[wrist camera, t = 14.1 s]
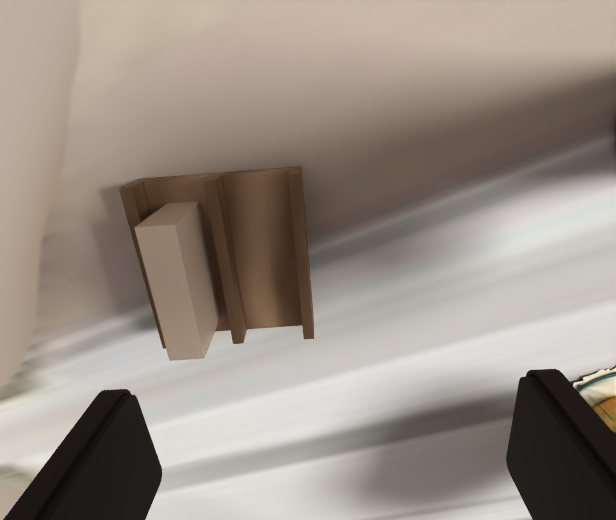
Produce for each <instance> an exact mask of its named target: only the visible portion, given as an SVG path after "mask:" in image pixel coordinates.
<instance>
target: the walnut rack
mask: <svg viewBox="0 0 616 520" xmlns="http://www.w3.org/2000/svg"><path fill="white" fill-rule="evenodd" d="M119 190H120V193H121V197H122V201H123V204H124V208H125V212H126V215H127V219H128V222H129V226H130V230H131V233H132V237H133V241H134V244H135V248H136V252H137V255H138V259H139V263H140V266H141V270H142V273H143V277H144V281H145V284H146V288H147V292H148V295H149V299H150V303H151V306H152V310H153V313H154V317H155V321H156V324H157V328H158V332H159V335H160V339H161V343H162V346H163V349H164V348H166V345H165V341H164V338H163V334H162V330H161V326H160V322H159V319H158V315H157V311H156V307H155V304H154V300H153V296H152V292H151V289H150V285H149V281H148V277H147V273H146V270H145V266H144V262H143V258H142V255H141V251H140V247H139V243H138V239H137V236H136V232H135V228H134V227H136V226H137V225H138V224H140V223H141V222H143V221H144V220H145V219H147V218H148V217H149V216H151V215H152V214H153V213H155V212H156V211H158V210H159V209H160V208H162V207H163V206H164V205H166V204H167V203H181V202H195V201H200V205H201V210H202V215H203V221H204V226H205V231H206V237H207V242H208V247H209V253H210V258H211V263H212V269H213V274H214V279H215V285H216V290H217V295H218V301H219V306H220V311H221V317H220V320H219V322H218V325H217V327H216V330H215V331H225V330H231V335H232V340H233V344H239V343H243V342H244V339H245V335H246V331H247V329H254V328H269V327H284V326H299V325H303V334H304V339H314V321H313V306H312V294H311V282H310V269H309V257H308V245H307V233H306V220H305V208H304V196H303V183H302V171H301V166H300V167H287V168H274V169H262V170H249V171H236V172H223V173H210V174H197V175H185V176H172V177H159V178H146V179H138V180H136V181H134V182H132V183H129V184H127V185H125V186H123V187H121V188H119Z"/></svg>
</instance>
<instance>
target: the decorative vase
mask: <svg viewBox="0 0 616 520" xmlns="http://www.w3.org/2000/svg"><path fill="white" fill-rule="evenodd" d="M573 386H574V388H575V389H576V390H577V391H578V392H579V393H580V394H581V396H582V397H583V398H584V399H585V400H586V401H587V403H588V404H589V405H590V406H591V407H592V408H593V409H594V411H595V412H596V413H597V414H598V415H599V416H600V417H601V419H602V420H603V421H604V422H605V423H606V424H607V425H608V427H609V428H610V429H611V430H612V431H614V432H615V433H616V368H615V369H613V370H611V371H610V370H609V368H608V369H607V370H599V371H598V372H597V373H595V374H593V375H590V376H586V377H583V381H579V382H574V384H573Z"/></svg>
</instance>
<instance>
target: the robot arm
mask: <svg viewBox="0 0 616 520" xmlns="http://www.w3.org/2000/svg"><path fill="white" fill-rule="evenodd" d="M506 460H507V466H508V470H509V472H510V475H511V477H512V479H513V481H514V483H515V485H516V487H517V489H518V491H519V493H520V495H521V497H522V499H523V501H524V503H525V505H526V507H527V509H528V511H529V513H530V515H531V517H532V519H533V520H616V433H615V432H614V431H612V430H611V429H610V428H609V427H608V425H607V424H606V423H605V422H604V421H603V420H602V419H601V417H600V416H599V415H598V414H597V413H596V412H595V411H594V409H593V408H592V407H591V406H590V405H589V404H588V403H587V401H586V400H585V399H584V398H583V397H582V396H581V394H580V393H579V392H578V391H577V390H576V389H575V388H574V386H573V385H572V384H571V383H570V382H569V381H568V380H567V378H566V377H565V376H564V375H563V374H562V373H561V372H560V371H559V370H557V369H544V370H529V371H528V372H527V374H526V377H521V378H520V381H519V385H518V391H517V397H516V403H515V409H514V415H513V421H512V427H511V433H510V439H509V445H508V451H507V458H506ZM161 478H162V468H161V465H160V462H159V459H158V456H157V454H156V451H155V448H154V445H153V442H152V439H151V437H150V434H149V431H148V428H147V425H146V422H145V419H144V417H143V414H142V411H141V408H140V405H139V402H138V400H137V397H136V396H135V395H131V393H130V391H129V390H127V389H119V390H104V391H101V392H100V393H99V394H98V395H97V396H96V398H95V399H94V400H93V402H92V403H91V404H90V406H89V407H88V408H87V410H86V411H85V412H84V414H83V415H82V416H81V418H80V419H79V420H78V422H77V423H76V424H75V426H74V427H73V428H72V430H71V431H70V432H69V433H68V435H67V436H66V437H65V439H64V440H63V441H62V443H61V444H60V445H59V447H58V448H57V449H56V451H55V452H54V453H53V455H52V456H51V457H50V459H49V460H48V461H47V463H46V464H45V465H44V467H43V468H42V469H41V471H40V472H39V473H38V474H37V476H36V477H35V478H34V480H33V481H32V482H31V484H30V485H29V486H28V488H27V489H26V490H25V492H24V493H23V494H22V496H21V497H20V498H19V500H18V501H17V502H16V504H15V505H14V506H13V508H12V509H11V510H10V512H9V513H8V515H7V516H6V517H5V518H4V519H3V520H145V519H146V516H147V514H148V511H149V509H150V507H151V504H152V502H153V500H154V497H155V495H156V492H157V490H158V488H159V485H160V482H161Z"/></svg>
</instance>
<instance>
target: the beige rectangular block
mask: <svg viewBox="0 0 616 520" xmlns="http://www.w3.org/2000/svg"><path fill="white" fill-rule="evenodd" d="M134 228H135V232H136V236H137V239H138V243H139V247H140V251H141V255H142V258H143V262H144V266H145V270H146V273H147V277H148V281H149V285H150V289H151V292H152V296H153V300H154V304H155V307H156V311H157V315H158V319H159V322H160V326H161V330H162V334H163V338H164V341H165V345H166V349H167V353H168V356H169V360H186V359H202V358H205V355H206V353H207V350H208V348H209V345H210V342H211V340H212V337H213V335H214V332H215V330H216V327H217V325H218V322H219V320H220V317H221V311H220V306H219V301H218V295H217V290H216V285H215V279H214V274H213V269H212V263H211V258H210V253H209V247H208V242H207V237H206V231H205V226H204V221H203V215H202V210H201V205H200V201H195V202H181V203H167V204H166V205H164V206H163V207H162V208H160V209H159V210H158V211H156V212H155V213H153V214H152V215H151V216H149V217H148V218H147V219H145V220H144V221H143V222H141V223H140V224H138V225H137V226H136V227H134Z"/></svg>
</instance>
